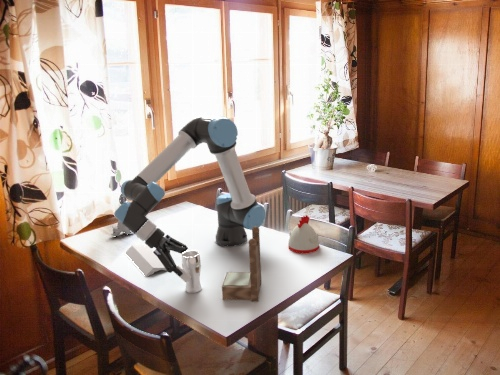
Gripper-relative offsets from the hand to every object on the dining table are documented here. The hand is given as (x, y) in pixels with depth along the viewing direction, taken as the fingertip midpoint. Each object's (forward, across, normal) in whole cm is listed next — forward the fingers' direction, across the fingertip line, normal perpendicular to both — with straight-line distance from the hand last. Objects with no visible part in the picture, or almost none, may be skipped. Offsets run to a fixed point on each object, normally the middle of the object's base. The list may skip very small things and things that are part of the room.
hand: (193, 271), depth 179 cm
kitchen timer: (+35, -41, +24) cm, 59 cm away
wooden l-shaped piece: (+19, +1, +8) cm, 20 cm away
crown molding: (-13, -25, -25) cm, 38 cm away
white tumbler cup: (+5, 0, -6) cm, 8 cm away
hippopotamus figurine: (-30, -56, -41) cm, 75 cm away
